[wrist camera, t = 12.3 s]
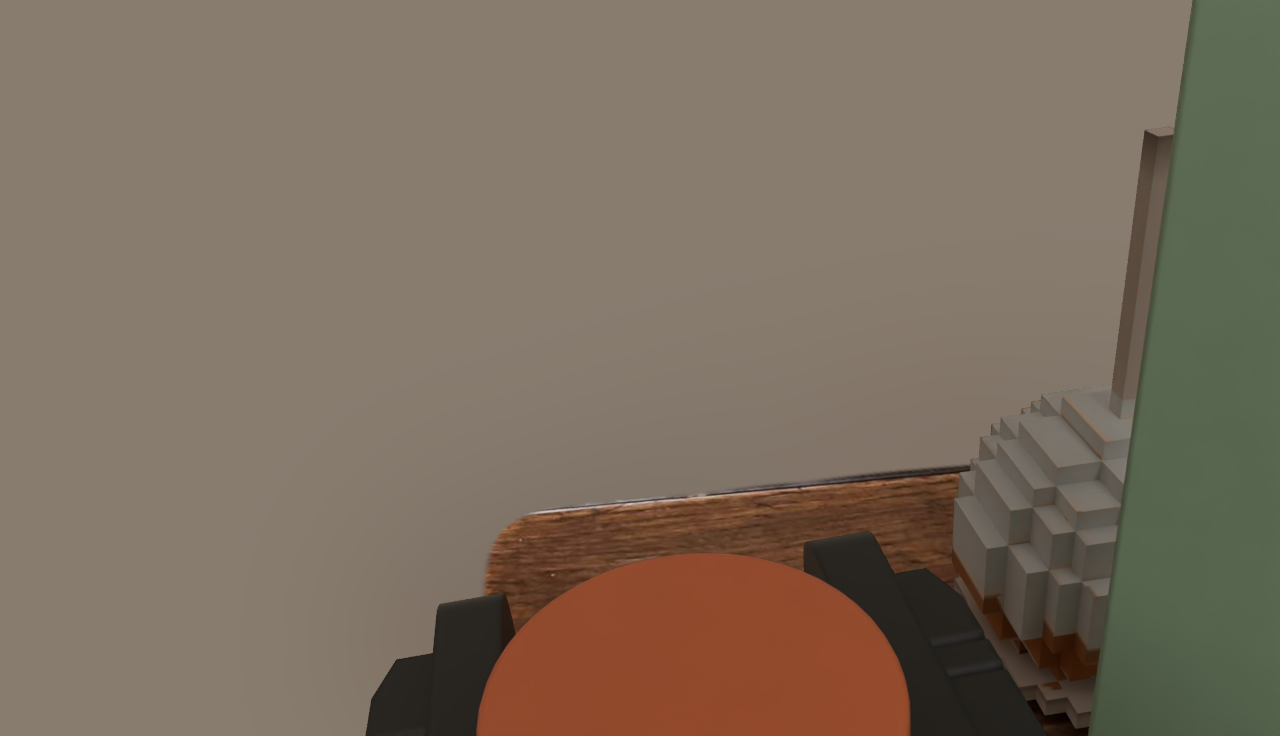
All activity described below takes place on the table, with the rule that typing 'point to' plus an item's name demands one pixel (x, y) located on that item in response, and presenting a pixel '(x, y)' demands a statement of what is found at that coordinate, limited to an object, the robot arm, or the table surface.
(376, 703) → the robot arm
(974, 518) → the white blocky ovoid
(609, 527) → the table surface
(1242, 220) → the holder
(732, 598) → the marker
